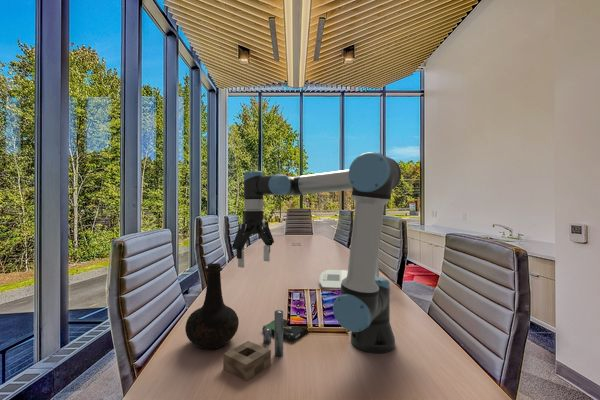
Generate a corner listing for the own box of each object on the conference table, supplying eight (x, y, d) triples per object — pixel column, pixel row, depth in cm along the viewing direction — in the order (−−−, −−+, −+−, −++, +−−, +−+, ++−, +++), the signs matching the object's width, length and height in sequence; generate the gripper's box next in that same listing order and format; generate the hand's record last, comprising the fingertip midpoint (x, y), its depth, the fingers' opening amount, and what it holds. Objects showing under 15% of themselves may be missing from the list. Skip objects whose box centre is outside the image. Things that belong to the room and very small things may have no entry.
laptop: (322, 273, 204) (321, 223, 204) (371, 274, 199) (371, 223, 199) (317, 291, 163) (317, 228, 163) (378, 294, 158) (378, 229, 158)
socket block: (270, 364, 90) (270, 350, 90) (246, 380, 82) (246, 364, 82) (248, 354, 96) (248, 340, 96) (223, 368, 88) (223, 353, 88)
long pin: (285, 354, 97) (284, 311, 97) (279, 357, 94) (279, 314, 94) (278, 351, 98) (278, 309, 98) (272, 355, 96) (272, 312, 96)
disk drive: (309, 333, 113) (278, 323, 121) (309, 326, 113) (278, 317, 121) (293, 344, 104) (261, 333, 113) (293, 336, 104) (261, 325, 113)
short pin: (272, 341, 105) (272, 329, 105) (267, 344, 103) (267, 331, 103) (267, 339, 107) (267, 326, 107) (261, 342, 105) (261, 329, 105)
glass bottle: (179, 340, 106) (179, 262, 106) (226, 327, 117) (226, 256, 117) (194, 362, 92) (194, 272, 92) (247, 345, 103) (246, 264, 103)
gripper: (269, 209, 129) (269, 258, 129) (222, 211, 110) (222, 268, 109) (281, 209, 125) (282, 259, 124) (235, 211, 105) (235, 271, 105)
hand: (254, 264), depth 117 cm, fingers open, 13 cm apart
